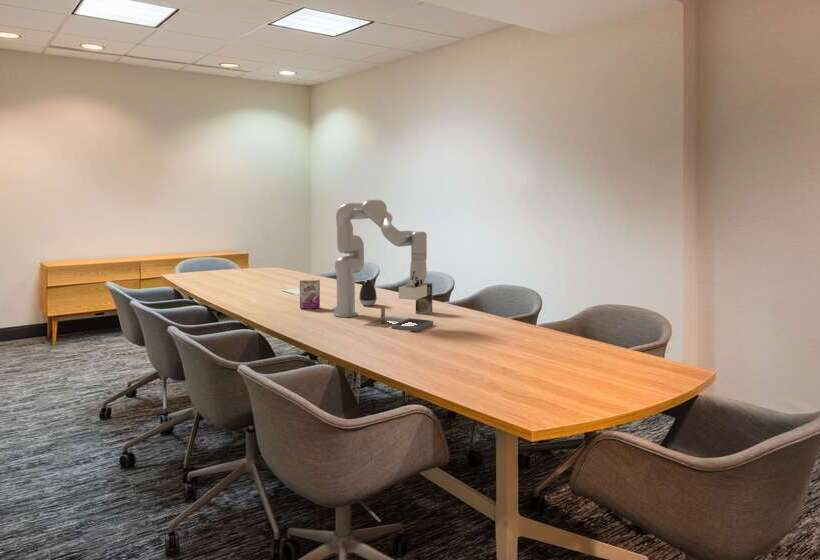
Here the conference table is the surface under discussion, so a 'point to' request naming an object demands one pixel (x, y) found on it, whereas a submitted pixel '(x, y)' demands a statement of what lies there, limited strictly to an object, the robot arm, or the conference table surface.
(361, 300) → the dark vase
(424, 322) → the tray
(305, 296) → the candy bar box
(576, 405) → the conference table surface
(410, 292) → the collar
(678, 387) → the conference table surface
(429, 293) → the coffee box
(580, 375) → the conference table surface
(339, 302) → the robot arm
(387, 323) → the stake stand
